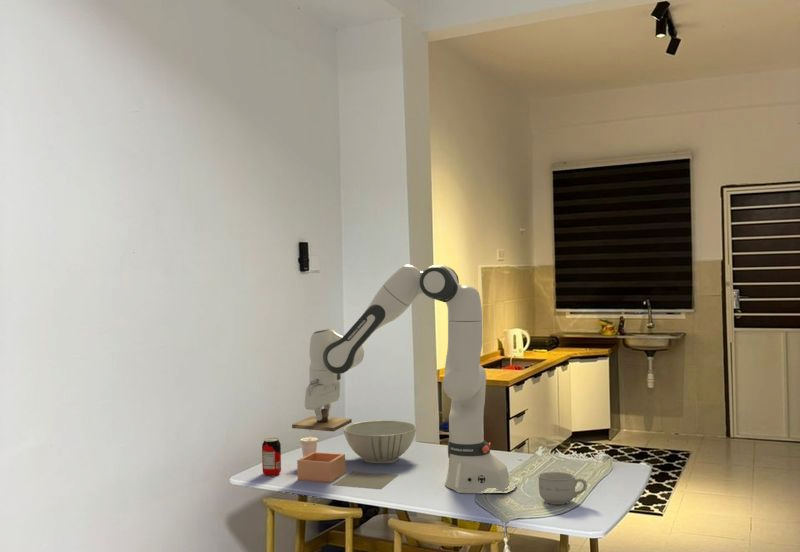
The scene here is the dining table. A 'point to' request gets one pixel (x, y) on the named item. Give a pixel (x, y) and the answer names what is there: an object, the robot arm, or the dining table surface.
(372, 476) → the rubber mat
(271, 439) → the beverage can
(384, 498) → the dining table surface
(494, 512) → the dining table surface
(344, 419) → the walnut lid
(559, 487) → the teacup
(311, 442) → the smoothie
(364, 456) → the decorative bowl
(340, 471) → the terracotta open box
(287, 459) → the dining table surface
